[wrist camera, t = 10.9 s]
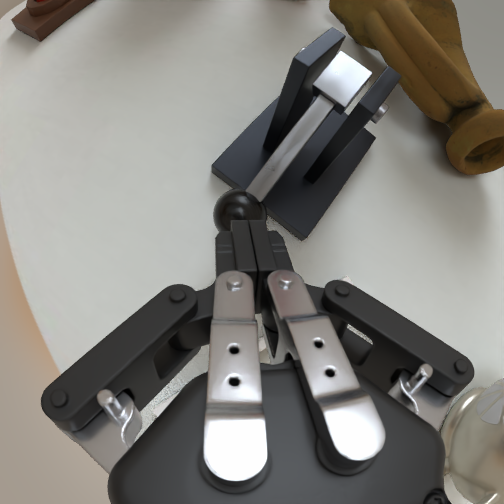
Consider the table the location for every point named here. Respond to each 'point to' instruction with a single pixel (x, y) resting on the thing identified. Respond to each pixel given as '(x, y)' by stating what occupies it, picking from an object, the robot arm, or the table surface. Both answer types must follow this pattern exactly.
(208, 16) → the table surface
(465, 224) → the table surface
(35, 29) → the control block
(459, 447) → the teapot
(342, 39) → the black lever stand
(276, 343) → the robot arm
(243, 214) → the switch lever
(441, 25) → the brown ridged flared piece
